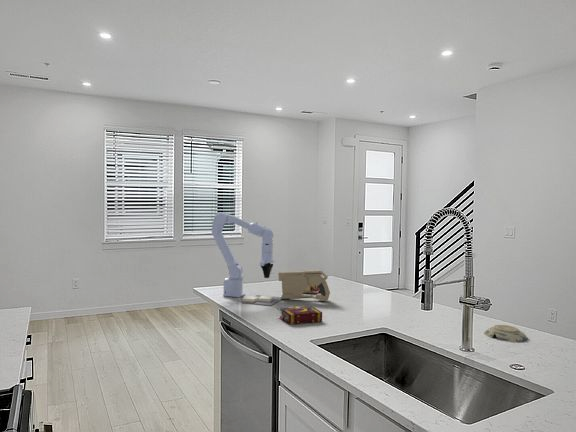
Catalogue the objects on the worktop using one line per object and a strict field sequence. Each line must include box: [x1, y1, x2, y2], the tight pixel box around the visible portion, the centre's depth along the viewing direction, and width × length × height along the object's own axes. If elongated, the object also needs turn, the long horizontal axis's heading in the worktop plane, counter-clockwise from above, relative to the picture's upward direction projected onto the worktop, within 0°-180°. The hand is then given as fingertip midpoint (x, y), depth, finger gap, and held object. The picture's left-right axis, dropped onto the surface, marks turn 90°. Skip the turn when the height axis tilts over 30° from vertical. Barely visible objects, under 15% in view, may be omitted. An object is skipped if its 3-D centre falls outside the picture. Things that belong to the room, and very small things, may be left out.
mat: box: [241, 294, 283, 307], centre depth 221 cm, size 15×18×1 cm
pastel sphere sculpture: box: [303, 275, 322, 294], centre depth 251 cm, size 25×24×9 cm
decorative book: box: [278, 305, 323, 325], centre depth 187 cm, size 11×16×5 cm
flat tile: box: [241, 295, 259, 303], centre depth 218 cm, size 6×6×2 cm
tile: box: [258, 295, 274, 302], centre depth 220 cm, size 6×2×6 cm
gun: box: [277, 269, 331, 303], centre depth 223 cm, size 25×3×16 cm, turn 84°
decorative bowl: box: [483, 324, 529, 343], centre depth 169 cm, size 15×4×15 cm
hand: (266, 277), depth 232 cm, fingers closed
